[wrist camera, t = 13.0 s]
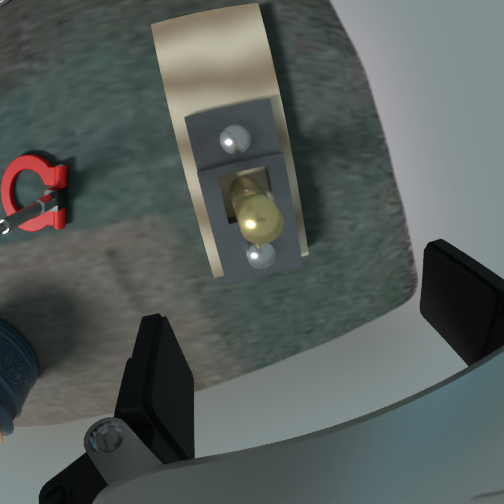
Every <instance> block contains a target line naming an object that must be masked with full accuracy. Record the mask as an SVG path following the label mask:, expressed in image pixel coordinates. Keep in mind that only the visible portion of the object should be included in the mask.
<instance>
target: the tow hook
mask: <svg viewBox="0 0 504 504" xmlns="http://www.w3.org/2000/svg"><path fill="white" fill-rule="evenodd" d="M67 166H68V165H65V164H58V165H55V166H51V165H50V164H49V162H48V161H46V160H45V159H44V158H42V157H40V156H37V155H35V154H28V155H23V156H20V157H18V158H16V159H15V160H14V161H12V162H11V163H10V165H9V166H8V168H7V169H6V171H5V173H4V176H3V179H2V185H1V198H2V202H3V206H4V209H5V211H6V213H7V215H8V216H7V217H5V218H3V219H2V220H0V234H2V233H4V234H7V233H8V232H10V231H12V230H13V229H15V228H16V227H19V228H21V229H23V230H25V231H32V232H33V231H38V230H41V229H42V228H44V227H45V226H47V225H51V226H53V227H54V228H55V229H63V228H65V208H66V203H67V187H66V181H67ZM24 169H31V170H34V171H35V172H37V173H38V174H39V175H40V177H41V178H42V179H43V182H44V184H45V185H50V186H54V187H51V188H49V189H47V190H45V196H43V197H41V198H39V199H37V200H36V201H34V202H33V204H31V205H29V206H27V207H25V208H23V209H21V210H19V209H18V207H17V206H16V204H15V201H14V197H13V185H14V181H15V179H16V177H17V175H18V174H19V173H20V172H21V171H22V170H24Z"/></svg>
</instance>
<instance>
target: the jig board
mask: <svg viewBox="0 0 504 504" xmlns="http://www.w3.org/2000/svg"><path fill="white" fill-rule="evenodd" d="M151 28H152V33H153V38H154V42H155V47H156V52H157V57H158V62H159V66H160V71H161V75H162V80H163V84H164V89H165V93H166V98H167V102H168V106H169V110H170V115H171V119H172V123H173V127H174V131H175V135H176V140H177V144H178V148H179V152H180V156H181V159H182V163H183V167H184V171H185V175H186V179H187V183H188V186H189V190H190V194H191V198H192V201H193V205H194V209H195V212H196V216H197V220H198V223H199V227H200V230H201V234H202V238H203V241H204V245H205V248H206V252H207V255H208V258H209V262H210V265H211V269H212V272H213V275H214V278H216V277H220V276H224V273H223V269H222V266H221V262H220V259H219V255H218V251H217V248H216V244H215V240H214V237H213V233H212V229H211V226H210V222H209V218H208V214H207V211H206V207H205V203H204V199H203V195H202V191H201V187H200V184H199V180H198V176H197V168H196V164H195V160H194V156H193V152H192V148H191V144H190V140H189V136H188V132H187V127H186V123H185V119H184V117H186V116H190V115H194V114H198V113H202V112H206V111H210V110H214V109H218V108H223V107H227V106H232V105H237V104H242V103H247V102H252V101H258V100H263V99H269V98H270V101H271V105H272V110H273V115H274V120H275V124H276V129H277V134H278V139H279V144H280V149H281V152H282V153H284V158H285V163H286V169H287V174H288V179H289V185H290V190H291V196H292V202H293V207H294V213H295V219H296V225H297V231H298V237H299V244H300V250H301V256H305V255H309V254H308V247H307V240H306V233H305V227H304V220H303V214H302V208H301V202H300V196H299V190H298V184H297V178H296V173H295V167H294V162H293V156H292V151H291V146H290V140H289V135H288V130H287V125H286V120H285V115H284V110H283V106H282V101H281V96H280V92H279V87H278V82H277V78H276V74H275V69H274V65H273V60H272V56H271V52H270V48H269V44H268V40H267V36H266V32H265V28H264V24H263V20H262V16H261V12H260V8H259V5H258V3H253V4H245V5H238V6H231V7H225V8H219V9H214V10H209V11H204V12H199V13H194V14H190V15H185V16H181V17H177V18H173V19H170V20H166V21H162V22H159V23H155V24H152V25H151ZM241 176H248V177H251V178H253V179H254V180H255V181H256V182H257V183H258V184H259V186H260V187H261V188H262V189H263V191H264V192H265V193H266V194H267V195H268V197H269V198H270V199H271V197H270V192H269V187H268V182H267V177H266V172H265V167H264V166H263V167H258V168H254V169H249V170H245V171H240V172H236V173H232V174H228V175H223V176H219V177H218V181H219V185H220V189H221V193H222V197H223V201H224V206H225V210H226V214H227V218H230V217H234V216H236V214H235V210H234V207H233V204H232V201H231V197H230V194H229V188H230V185H231V183H232V182H233V181H234V180H235V179H236V178H238V177H241Z"/></svg>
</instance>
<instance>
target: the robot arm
mask: <svg viewBox="0 0 504 504" xmlns="http://www.w3.org/2000/svg"><path fill="white" fill-rule="evenodd" d="M8 1H9V0H0V7H1V6H3V5H4V4H6V3H7V2H8ZM420 312H421V314H422V316H423V317H424V318H425V319H426V320H427V321H428V322H429V323H430V324H431V326H432V327H433V328H434V329H435V330H436V331H437V332H438V333H439V334H440V335H441V336H442V337H443V338H444V339H445V340H446V342H447V343H448V344H449V345H450V346H451V347H452V348H453V349H454V350H455V352H456V353H457V354H458V355H459V356H460V357H461V358H462V359H463V360H464V362H465V363H466V364H467V365H468V366H469V367H467V368H465V369H464V370H462V371H460V372H458V373H456V374H455V375H453V376H451V377H449V378H447V379H445V380H443V381H441V382H439V383H437V384H435V385H433V386H431V387H429V388H427V389H425V390H423V391H421V392H418V393H416V394H414V395H412V396H410V397H407V398H405V399H403V400H401V401H398V402H396V403H394V404H392V405H389V406H387V407H384V408H381V409H379V410H376V411H374V412H371V413H369V414H366V415H363V416H361V417H358V418H355V419H353V420H350V421H347V422H344V423H341V424H338V425H335V426H332V427H329V428H326V429H322V430H319V431H316V432H312V433H309V434H306V435H302V436H299V437H295V438H291V439H287V440H284V441H279V442H275V443H271V444H266V445H262V446H258V447H253V448H249V449H244V450H240V451H234V452H229V453H223V454H218V455H212V456H206V457H200V458H195V452H194V451H195V449H194V379H193V375H192V372H191V370H190V368H189V366H188V363H187V361H186V359H185V357H184V355H183V353H182V350H181V348H180V346H179V344H178V342H177V339H176V337H175V335H174V332H173V330H172V328H171V326H170V323H169V321H168V319H167V317H166V316H164V317H161V315H160V314H159V313H157V314H153V315H148V316H144V317H142V320H141V323H140V327H139V331H138V334H137V338H136V342H135V346H134V350H133V354H132V358H129V359H128V360H127V363H126V367H125V370H124V374H123V378H122V383H121V387H120V391H119V395H118V399H117V404H116V408H115V413H114V417H112V418H111V417H110V418H109V417H108V418H104V419H101V420H99V421H97V422H96V423H94V424H93V425H92V426H91V427H90V428H89V429H88V431H87V432H86V434H85V437H84V447H85V450H86V453H85V454H83V455H82V456H81V457H79V458H78V459H77V460H75V461H74V462H73V463H72V464H70V465H69V466H68V467H67V468H65V469H64V470H63V471H61V472H60V473H59V474H57V475H56V476H55V477H53V478H52V479H51V480H49V481H48V482H47V483H46V484H45V485H44V486H43V487H42V489H41V491H40V494H39V504H504V279H502V278H501V277H499V276H498V275H496V274H495V273H493V272H492V271H491V270H489V269H488V268H486V267H485V266H483V265H482V264H480V263H479V262H477V261H476V260H474V259H473V258H471V257H470V256H468V255H467V254H465V253H464V252H462V251H460V250H459V249H457V248H456V247H454V246H453V245H451V244H450V243H448V242H446V241H445V240H443V239H438V240H435V241H432V242H429V243H428V244H427V246H426V248H425V249H424V259H423V275H422V288H421V299H420Z"/></svg>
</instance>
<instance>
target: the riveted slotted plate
mask: <svg viewBox="0 0 504 504" xmlns="http://www.w3.org/2000/svg"><path fill="white" fill-rule="evenodd" d="M184 119H185V123H186V127H187V132H188V136H189V140H190V144H191V148H192V152H193V156H194V160H195V164H196V168H197V176H198V180H199V184H200V187H201V191H202V195H203V199H204V203H205V207H206V211H207V214H208V218H209V222H210V226H211V229H212V233H213V237H214V240H215V244H216V248H217V251H218V255H219V259H220V262H221V266H222V269H223V273H224V277H225V280H226V284H231V283H235V282H239V281H243V280H247V279H251V278H255V277H259V276H263V275H267V274H271V273H275V272H279V271H283V270H287V269H291V268H295V267H299V266H303V263H302V257H301V250H300V244H299V237H298V231H297V225H296V219H295V213H294V207H293V202H292V196H291V190H290V185H289V179H288V174H287V169H286V163H285V158H284V153H282V152H281V149H280V144H279V139H278V134H277V129H276V124H275V120H274V115H273V110H272V105H271V101H270V98H269V99H263V100H258V101H252V102H247V103H242V104H237V105H232V106H227V107H223V108H218V109H214V110H210V111H206V112H202V113H198V114H194V115H190V116H186V117H184ZM263 166H264V167H265V172H266V177H267V182H268V187H269V192H270V197H271V200H272V202H273V203H274V204H275V205H276V207H277V208H278V209H279V210H280V212H281V213H282V216H283V221H284V224H283V229H282V231H281V233H280V235H279V236H278V237H277V238H276V239H275V240H274V241H272V242H270V243H267V244H254V243H251V242H250V241H248V240H247V239H246V238H245V237H244V236H243V234H242V233H241V230H240V226H239V223H238V220H237V217H236V216H234V217H230V218H227V214H226V210H225V206H224V201H223V197H222V193H221V189H220V185H219V181H218V177H219V176H223V175H228V174H232V173H236V172H240V171H245V170H249V169H254V168H258V167H263Z"/></svg>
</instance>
